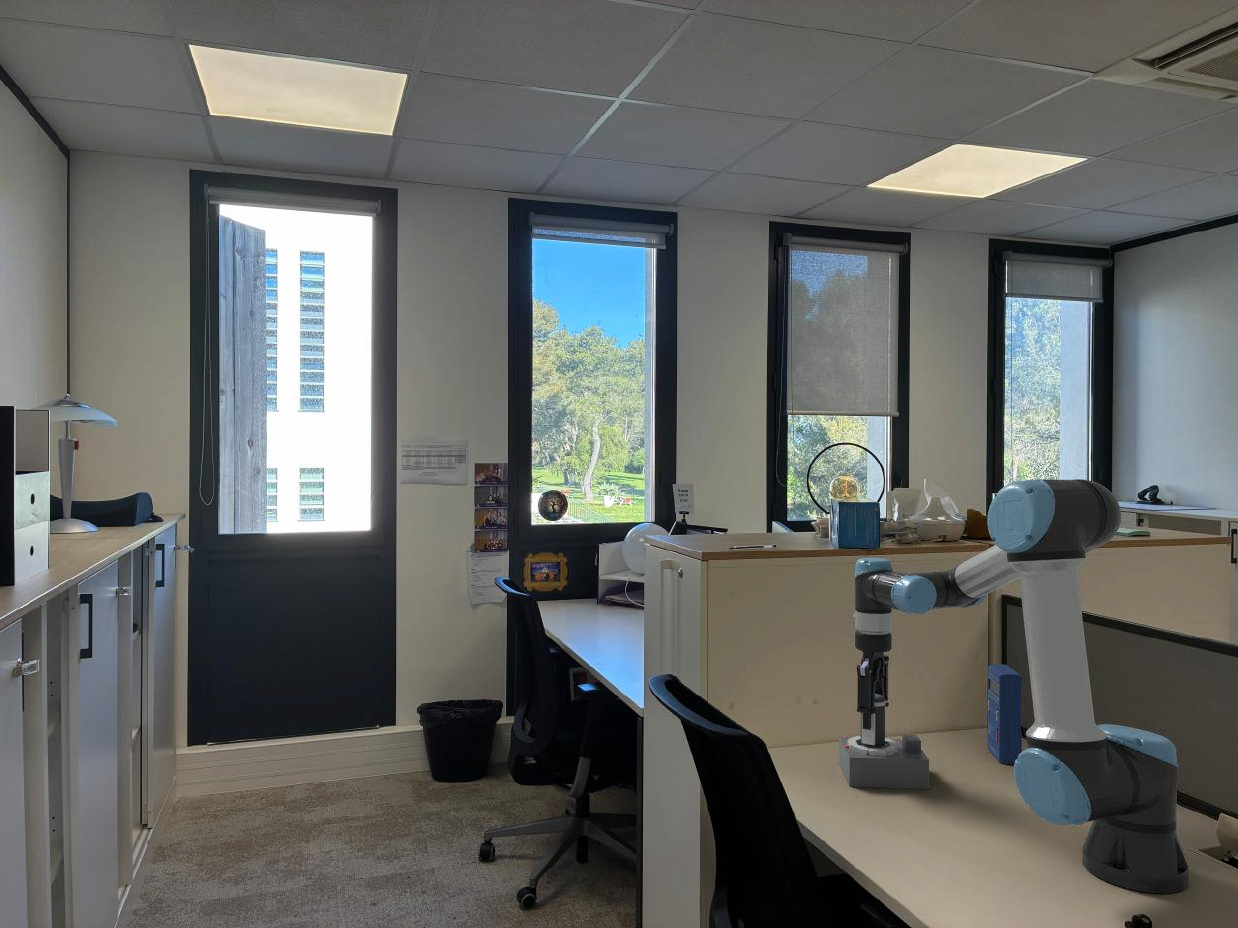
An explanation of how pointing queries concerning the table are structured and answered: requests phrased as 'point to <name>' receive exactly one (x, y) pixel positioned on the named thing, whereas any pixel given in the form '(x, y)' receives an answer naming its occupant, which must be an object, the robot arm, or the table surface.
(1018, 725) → the electronic device
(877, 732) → the lens
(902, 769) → the camera body
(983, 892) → the table surface
